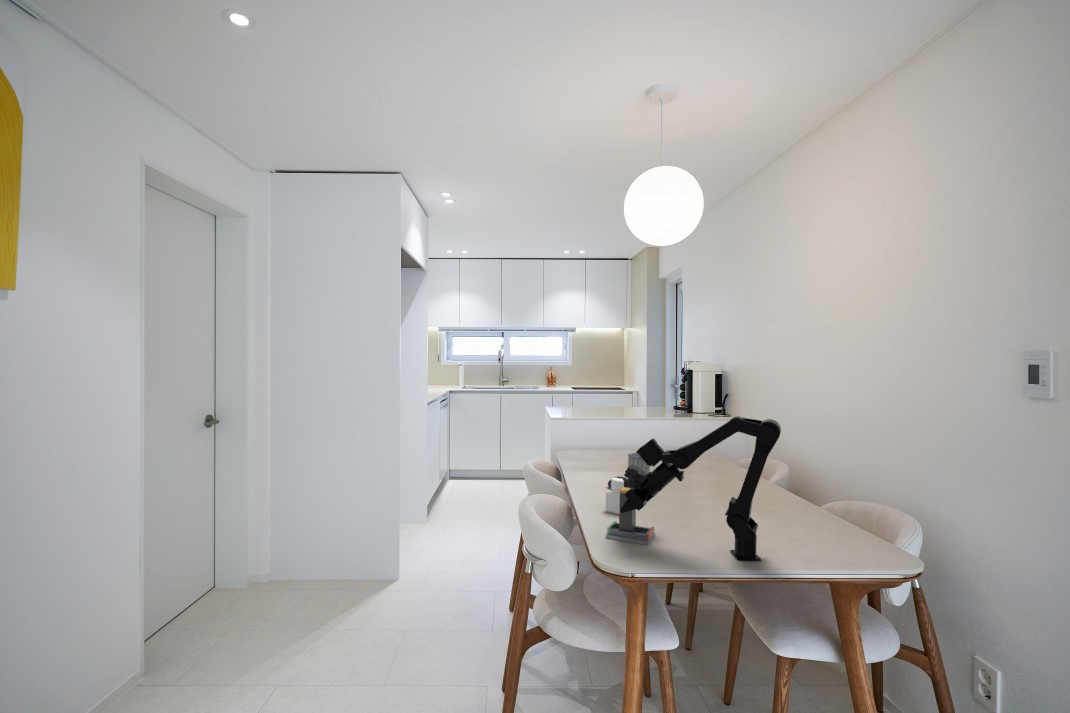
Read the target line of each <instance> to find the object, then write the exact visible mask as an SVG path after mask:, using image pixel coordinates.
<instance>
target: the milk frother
mask: <svg viewBox="0 0 1070 713" xmlns="http://www.w3.org/2000/svg"><path fill="white" fill-rule="evenodd" d="M627 457H628V459H627V464H628V466H630V465H635V466H636V467H638V468H640V469H641V470H643V471H644V472H646V473H647V474H648V473H649V472H651V470H650V468H651V467H650V466H648V465H647V464H646V463H645V462H644V461H643V460H642V459H641V457H640V456H639V455H638V454H637V453H636V452H635V453H628V454H627ZM628 466H627V467H628ZM627 479H628V480H629V482H628V488H635V486H636V484H637V483H636V482H634V481H633V480H631V479H629V478H627ZM607 486H608V487H609V488H610V489H611V479H609V480H608V482H607Z"/></svg>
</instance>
